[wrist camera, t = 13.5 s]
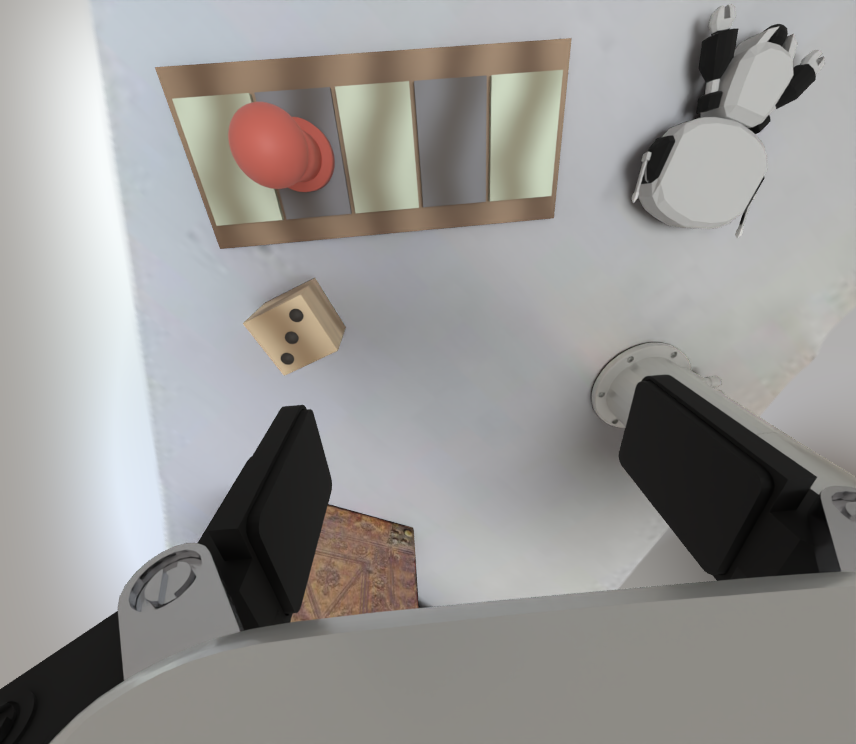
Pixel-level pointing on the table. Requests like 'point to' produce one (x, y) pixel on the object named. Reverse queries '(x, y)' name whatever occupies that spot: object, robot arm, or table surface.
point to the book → (360, 567)
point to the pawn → (280, 148)
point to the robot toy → (724, 128)
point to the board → (384, 138)
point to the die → (297, 327)
